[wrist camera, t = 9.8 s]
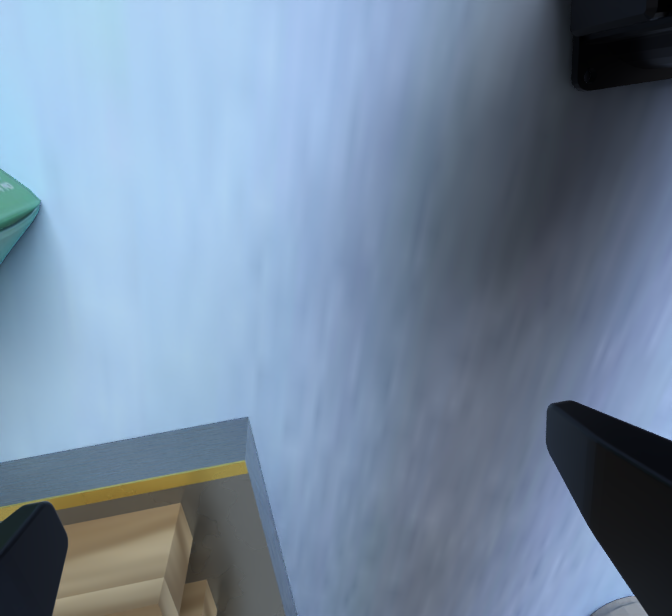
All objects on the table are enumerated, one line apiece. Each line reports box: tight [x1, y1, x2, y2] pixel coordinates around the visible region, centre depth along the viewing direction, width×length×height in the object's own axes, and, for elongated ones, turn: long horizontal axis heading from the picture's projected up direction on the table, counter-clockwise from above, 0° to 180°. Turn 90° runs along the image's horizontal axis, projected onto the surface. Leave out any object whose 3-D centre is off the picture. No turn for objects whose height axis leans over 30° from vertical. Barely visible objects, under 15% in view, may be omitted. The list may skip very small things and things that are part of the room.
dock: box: [0, 417, 297, 616], centre depth 23 cm, size 13×14×5 cm
